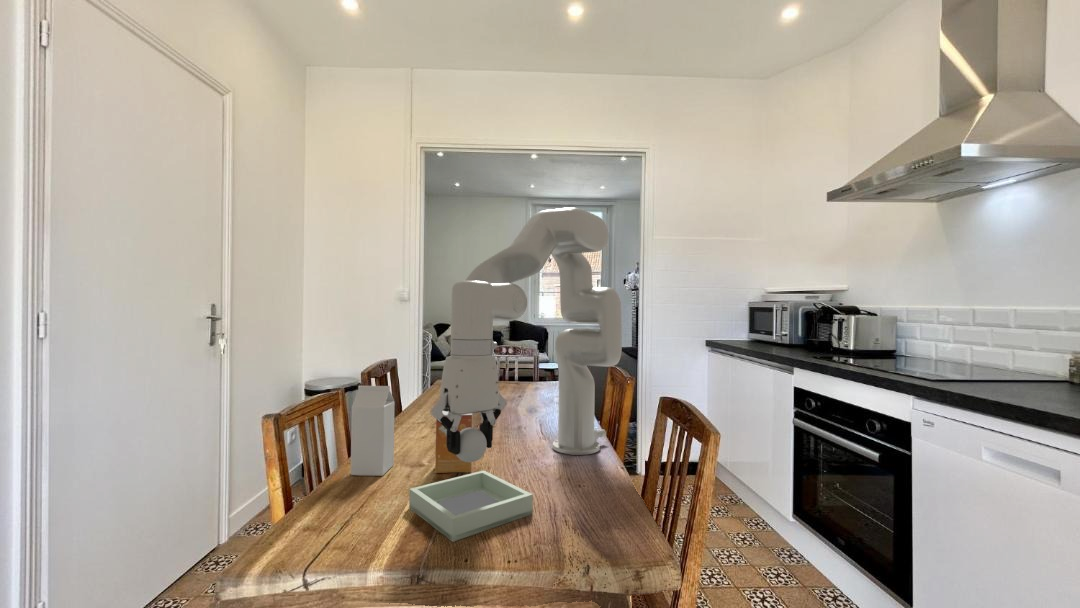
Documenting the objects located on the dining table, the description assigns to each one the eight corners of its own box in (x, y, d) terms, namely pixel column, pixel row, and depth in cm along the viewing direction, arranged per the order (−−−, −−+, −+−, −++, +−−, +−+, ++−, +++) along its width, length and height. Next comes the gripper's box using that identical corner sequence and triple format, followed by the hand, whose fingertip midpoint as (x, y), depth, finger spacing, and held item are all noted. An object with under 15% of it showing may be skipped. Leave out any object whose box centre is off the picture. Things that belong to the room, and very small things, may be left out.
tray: (483, 487, 95) (483, 470, 95) (532, 514, 83) (532, 494, 83) (409, 508, 85) (409, 488, 85) (452, 541, 73) (452, 519, 73)
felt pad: (479, 491, 91) (479, 490, 91) (508, 508, 83) (509, 506, 83) (432, 504, 85) (432, 503, 85) (459, 524, 77) (459, 522, 77)
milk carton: (382, 476, 101) (384, 388, 101) (350, 476, 101) (351, 388, 102) (393, 465, 108) (394, 383, 109) (363, 465, 108) (364, 383, 109)
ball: (475, 454, 88) (475, 422, 88) (493, 462, 83) (493, 428, 84) (446, 460, 84) (447, 427, 84) (463, 469, 80) (464, 433, 80)
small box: (434, 474, 103) (435, 414, 103) (437, 464, 109) (437, 409, 109) (471, 472, 104) (472, 414, 104) (472, 463, 110) (472, 408, 110)
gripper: (499, 346, 93) (497, 437, 92) (418, 349, 82) (416, 453, 81) (522, 348, 87) (520, 446, 86) (438, 352, 76) (436, 464, 75)
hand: (470, 448), depth 84 cm, fingers closed on ball, 5 cm apart
